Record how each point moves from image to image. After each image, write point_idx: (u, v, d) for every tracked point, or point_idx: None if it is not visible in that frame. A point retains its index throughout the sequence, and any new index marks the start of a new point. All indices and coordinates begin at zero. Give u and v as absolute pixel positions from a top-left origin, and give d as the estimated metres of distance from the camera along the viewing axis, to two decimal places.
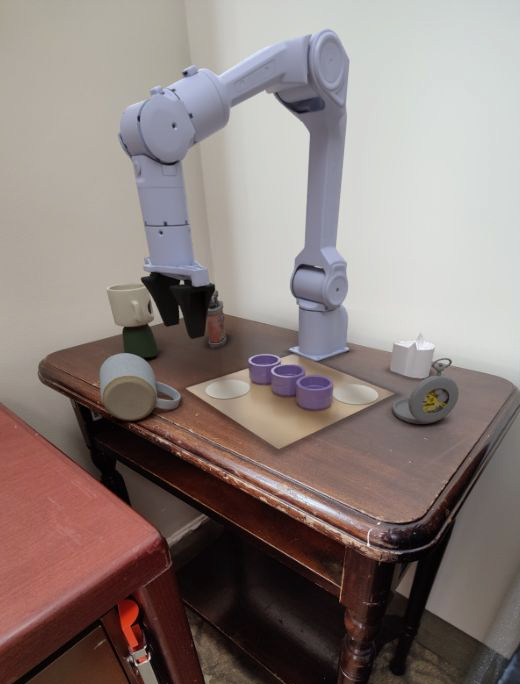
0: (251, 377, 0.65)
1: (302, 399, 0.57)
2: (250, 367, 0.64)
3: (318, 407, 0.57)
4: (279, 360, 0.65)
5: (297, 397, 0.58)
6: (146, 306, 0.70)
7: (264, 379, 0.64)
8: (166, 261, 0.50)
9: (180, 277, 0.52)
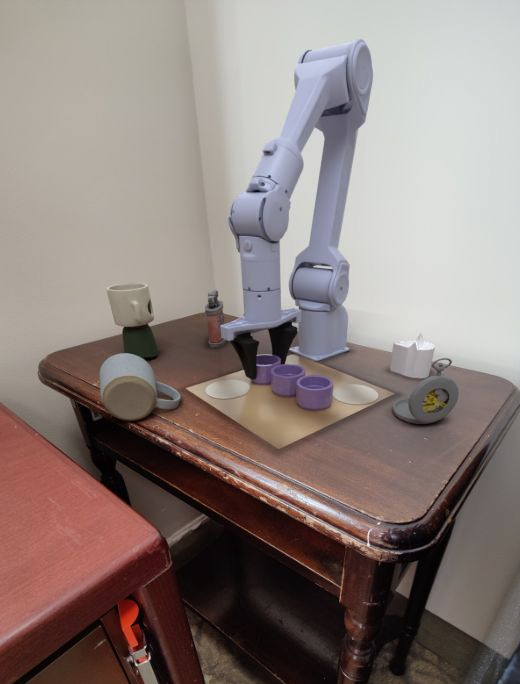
0: None
1: (302, 399, 0.57)
2: None
3: (318, 407, 0.57)
4: (279, 360, 0.65)
5: (297, 397, 0.58)
6: (146, 306, 0.70)
7: (264, 379, 0.64)
8: None
9: (251, 329, 0.61)
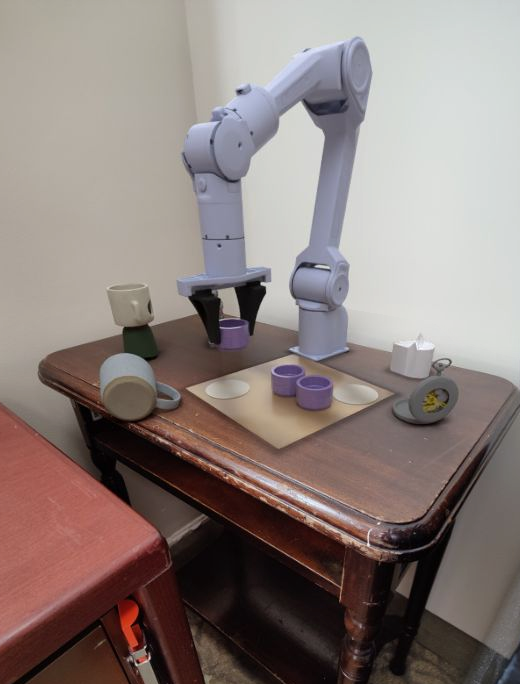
0: None
1: (302, 399, 0.57)
2: None
3: (318, 407, 0.57)
4: (246, 323, 0.58)
5: (297, 397, 0.58)
6: (146, 306, 0.70)
7: (229, 344, 0.58)
8: None
9: (213, 286, 0.55)
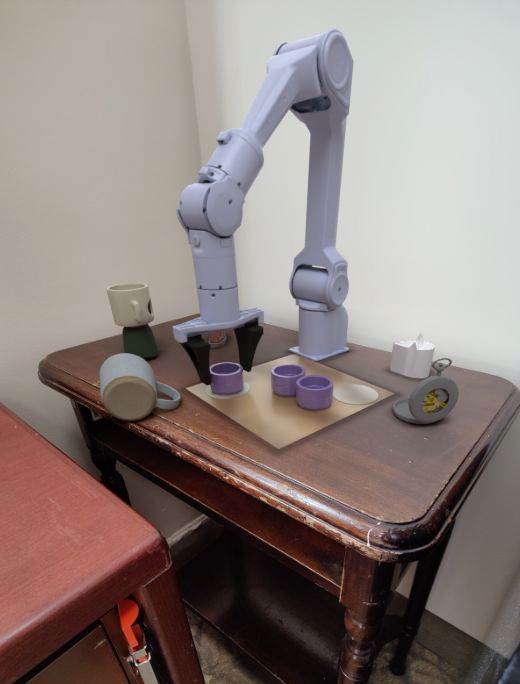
0: (211, 387, 0.62)
1: (302, 399, 0.57)
2: None
3: (318, 407, 0.57)
4: (240, 369, 0.62)
5: (297, 397, 0.58)
6: (146, 306, 0.70)
7: (224, 389, 0.61)
8: None
9: None
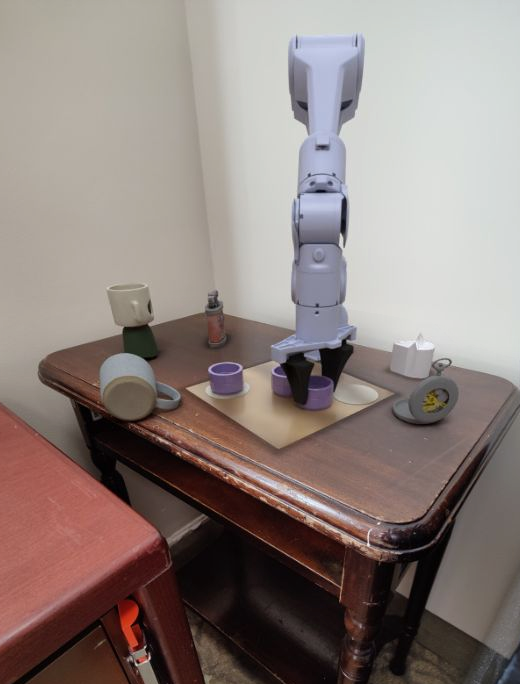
0: (211, 387, 0.62)
1: None
2: (210, 376, 0.61)
3: (318, 407, 0.57)
4: (240, 369, 0.62)
5: None
6: (146, 306, 0.70)
7: (224, 389, 0.61)
8: (337, 331, 0.53)
9: None
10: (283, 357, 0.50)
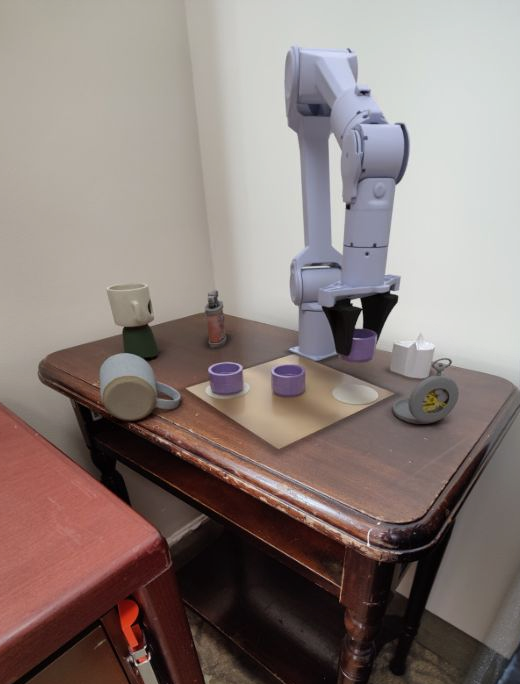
0: (211, 387, 0.62)
1: None
2: (210, 376, 0.61)
3: (362, 358, 0.56)
4: (240, 369, 0.62)
5: None
6: (146, 306, 0.70)
7: (224, 389, 0.61)
8: None
9: None
10: (331, 300, 0.49)
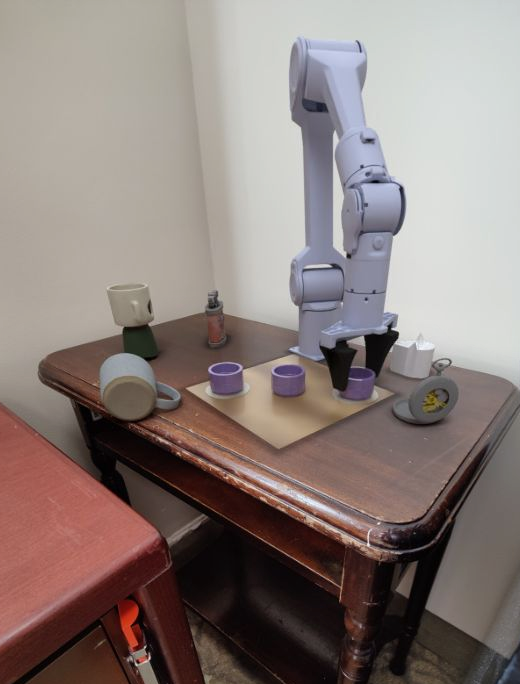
0: (211, 387, 0.62)
1: None
2: (210, 376, 0.61)
3: (361, 397, 0.59)
4: (240, 369, 0.62)
5: None
6: (146, 306, 0.70)
7: (224, 389, 0.61)
8: None
9: None
10: (333, 342, 0.52)
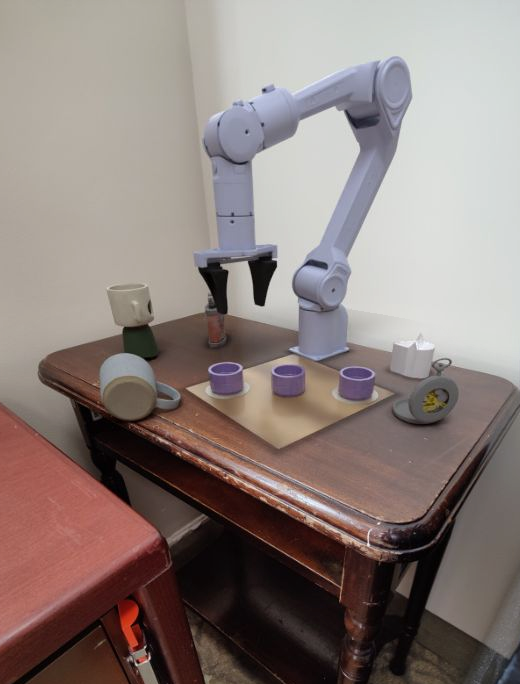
0: (211, 387, 0.62)
1: (345, 389, 0.59)
2: (210, 376, 0.61)
3: (361, 397, 0.59)
4: (240, 369, 0.62)
5: (340, 388, 0.60)
6: (146, 306, 0.70)
7: (224, 389, 0.61)
8: (255, 244, 0.61)
9: (250, 258, 0.63)
10: (203, 261, 0.57)
